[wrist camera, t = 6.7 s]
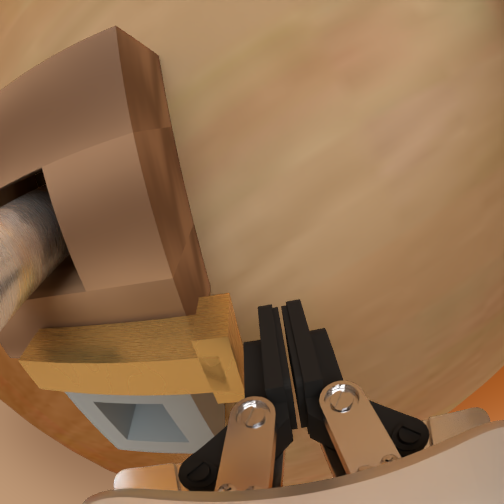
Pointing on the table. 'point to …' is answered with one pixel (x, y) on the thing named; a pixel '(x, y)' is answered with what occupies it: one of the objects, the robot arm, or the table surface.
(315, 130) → the table surface
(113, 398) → the grey square ring block
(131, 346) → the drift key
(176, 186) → the socket block
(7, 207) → the steel peg
